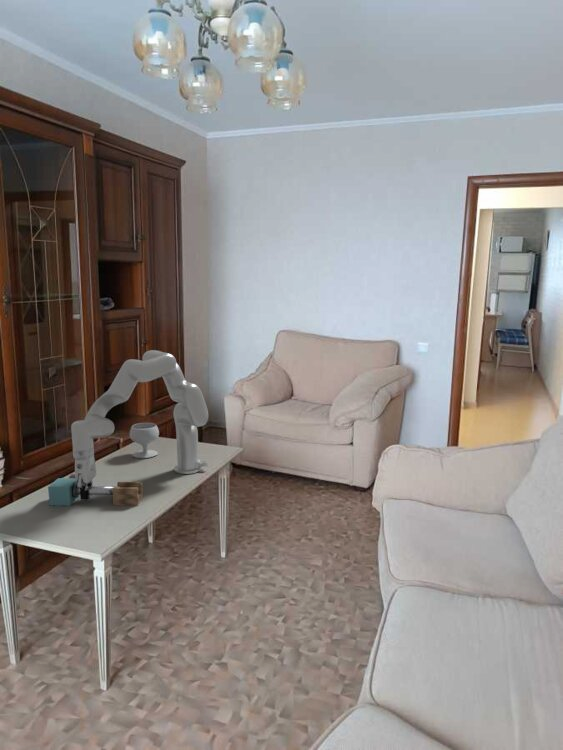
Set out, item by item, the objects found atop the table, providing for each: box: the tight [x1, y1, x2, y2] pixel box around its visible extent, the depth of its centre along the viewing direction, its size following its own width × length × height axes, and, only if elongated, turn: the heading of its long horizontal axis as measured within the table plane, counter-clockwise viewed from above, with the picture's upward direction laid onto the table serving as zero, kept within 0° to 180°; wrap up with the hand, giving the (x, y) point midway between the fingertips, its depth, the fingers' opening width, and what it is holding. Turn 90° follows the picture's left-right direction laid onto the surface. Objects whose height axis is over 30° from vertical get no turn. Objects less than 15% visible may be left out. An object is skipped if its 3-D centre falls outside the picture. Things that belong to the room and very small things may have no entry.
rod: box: [71, 484, 120, 499], centre depth 212 cm, size 26×5×5 cm, turn 89°
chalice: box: [129, 422, 160, 459], centre depth 267 cm, size 14×14×15 cm
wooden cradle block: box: [112, 481, 144, 506], centre depth 212 cm, size 10×7×7 cm
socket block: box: [47, 477, 78, 507], centre depth 212 cm, size 8×9×8 cm
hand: (86, 496), depth 213 cm, fingers closed on rod, 3 cm apart
